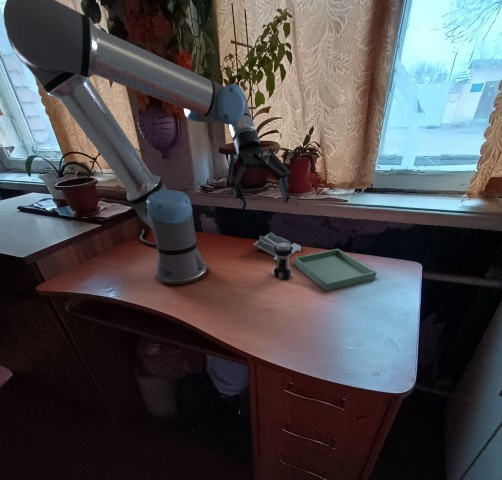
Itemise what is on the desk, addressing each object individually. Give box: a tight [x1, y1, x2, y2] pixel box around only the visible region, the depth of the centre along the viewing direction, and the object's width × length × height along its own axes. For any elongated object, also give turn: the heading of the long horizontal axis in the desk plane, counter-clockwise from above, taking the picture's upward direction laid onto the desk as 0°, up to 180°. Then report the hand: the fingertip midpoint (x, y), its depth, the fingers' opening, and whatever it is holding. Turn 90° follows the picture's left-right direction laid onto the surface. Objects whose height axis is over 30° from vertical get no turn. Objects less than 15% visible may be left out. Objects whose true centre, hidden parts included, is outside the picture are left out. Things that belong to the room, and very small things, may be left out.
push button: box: [270, 242, 293, 281], centre depth 91 cm, size 7×5×10 cm
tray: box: [293, 248, 377, 292], centre depth 94 cm, size 19×16×2 cm
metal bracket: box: [252, 231, 302, 262], centre depth 107 cm, size 14×6×15 cm
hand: (266, 203), depth 91 cm, fingers open, 13 cm apart
